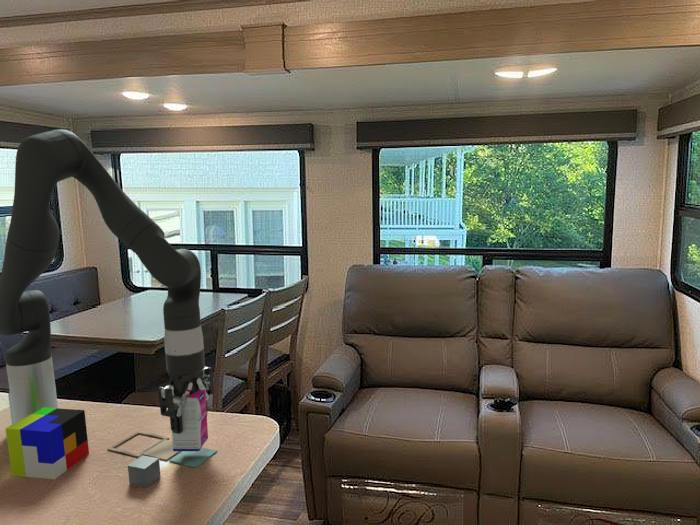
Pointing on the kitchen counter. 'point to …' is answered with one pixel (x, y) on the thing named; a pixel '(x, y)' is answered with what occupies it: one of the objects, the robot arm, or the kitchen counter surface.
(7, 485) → the kitchen counter surface
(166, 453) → the track
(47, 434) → the puzzle toy
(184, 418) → the supplement box
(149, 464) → the cube
